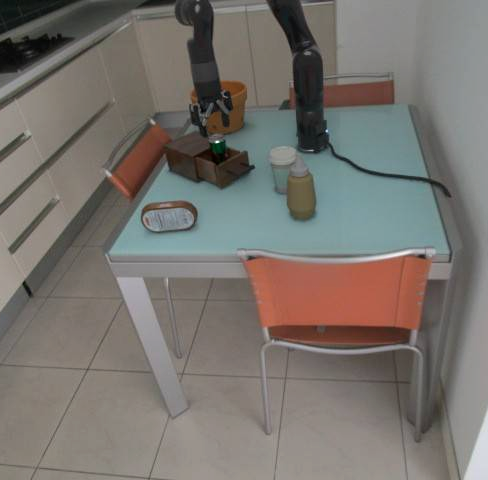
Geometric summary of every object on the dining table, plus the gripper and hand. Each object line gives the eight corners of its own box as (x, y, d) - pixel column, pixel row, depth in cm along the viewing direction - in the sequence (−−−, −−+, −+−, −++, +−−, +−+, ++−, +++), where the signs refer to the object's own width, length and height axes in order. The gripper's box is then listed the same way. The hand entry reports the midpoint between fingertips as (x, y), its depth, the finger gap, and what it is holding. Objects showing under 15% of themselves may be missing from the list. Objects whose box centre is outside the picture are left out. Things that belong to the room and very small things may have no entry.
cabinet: (229, 165, 154) (225, 139, 149) (197, 182, 147) (192, 156, 141) (200, 154, 163) (195, 130, 157) (169, 170, 155) (163, 145, 150)
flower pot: (188, 138, 176) (180, 99, 167) (209, 116, 192) (202, 80, 183) (241, 139, 170) (235, 100, 161) (257, 117, 186) (253, 79, 177)
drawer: (263, 176, 144) (260, 155, 140) (234, 194, 137) (230, 172, 133) (221, 161, 155) (218, 141, 151) (192, 177, 148) (188, 156, 144)
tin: (200, 223, 128) (194, 197, 123) (199, 230, 125) (193, 203, 120) (146, 228, 128) (138, 202, 123) (144, 235, 126) (135, 209, 121)
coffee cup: (303, 182, 141) (301, 146, 134) (295, 197, 134) (292, 159, 127) (276, 180, 143) (273, 144, 136) (267, 194, 137) (263, 157, 130)
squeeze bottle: (297, 226, 123) (292, 164, 112) (282, 212, 128) (276, 153, 118) (323, 216, 125) (321, 155, 114) (307, 203, 131) (304, 144, 120)
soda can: (228, 176, 144) (221, 139, 137) (212, 175, 145) (205, 139, 138) (232, 168, 148) (226, 132, 141) (217, 167, 149) (210, 132, 142)
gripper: (195, 86, 123) (206, 143, 132) (233, 70, 131) (241, 125, 140) (177, 82, 127) (189, 138, 136) (215, 67, 135) (224, 121, 144)
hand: (216, 131), depth 138 cm, fingers open, 8 cm apart
